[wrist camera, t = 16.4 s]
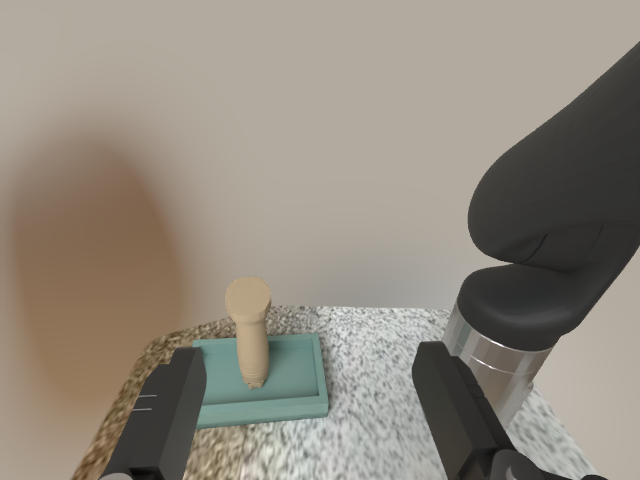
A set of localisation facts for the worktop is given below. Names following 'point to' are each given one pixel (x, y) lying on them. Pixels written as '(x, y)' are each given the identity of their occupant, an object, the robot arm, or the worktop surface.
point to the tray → (278, 389)
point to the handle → (250, 327)
